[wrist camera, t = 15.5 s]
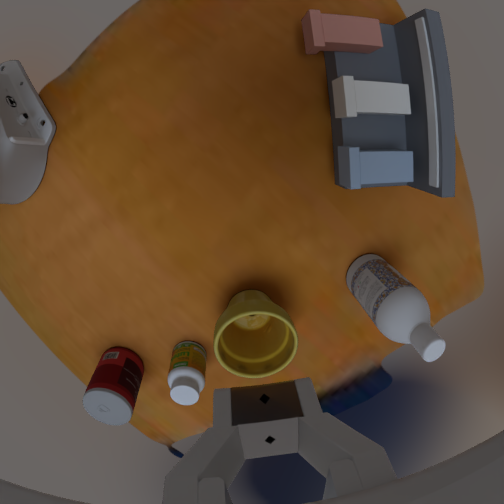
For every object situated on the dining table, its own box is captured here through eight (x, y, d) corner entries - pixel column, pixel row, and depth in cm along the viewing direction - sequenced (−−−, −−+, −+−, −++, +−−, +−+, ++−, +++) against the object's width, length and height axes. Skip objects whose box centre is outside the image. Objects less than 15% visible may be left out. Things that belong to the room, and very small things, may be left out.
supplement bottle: (190, 334, 48) (185, 375, 39) (213, 356, 50) (212, 398, 41) (166, 350, 49) (156, 392, 40) (188, 371, 51) (184, 413, 41)
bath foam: (393, 273, 47) (467, 343, 29) (361, 302, 49) (421, 386, 30) (370, 243, 45) (448, 310, 27) (336, 275, 47) (396, 358, 28)
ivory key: (335, 118, 35) (347, 116, 31) (331, 81, 33) (343, 75, 29) (395, 119, 35) (411, 118, 31) (392, 84, 34) (407, 80, 30)
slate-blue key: (339, 184, 38) (351, 189, 34) (337, 146, 36) (349, 147, 32) (397, 180, 38) (413, 185, 34) (396, 145, 36) (412, 147, 33)
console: (335, 183, 42) (372, 201, 31) (320, 27, 34) (352, -6, 23) (404, 180, 42) (454, 196, 31) (392, 34, 35) (438, 12, 23)
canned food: (95, 365, 49) (76, 409, 39) (112, 337, 47) (91, 381, 37) (133, 387, 51) (120, 432, 41) (152, 360, 49) (140, 408, 39)
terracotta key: (305, 54, 32) (314, 45, 28) (301, 20, 30) (309, 9, 27) (369, 57, 32) (383, 50, 28) (364, 24, 31) (377, 15, 27)
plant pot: (265, 263, 45) (276, 296, 36) (296, 318, 48) (311, 357, 39) (201, 297, 46) (196, 335, 37) (237, 347, 49) (239, 389, 40)
